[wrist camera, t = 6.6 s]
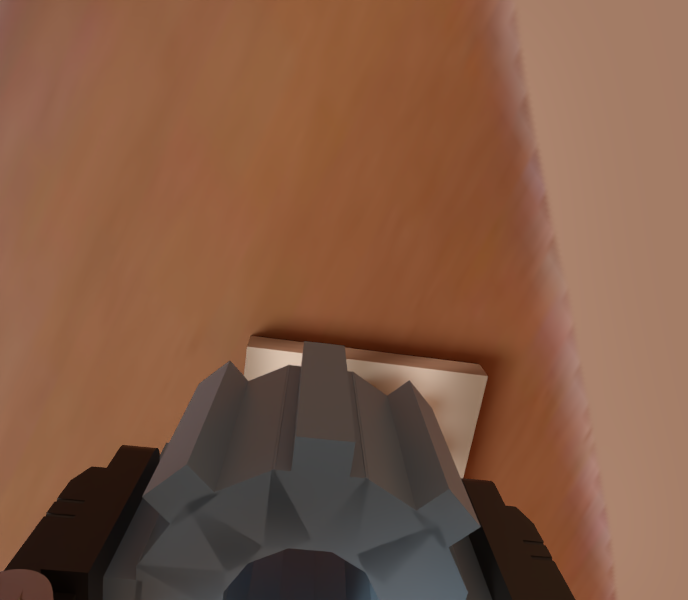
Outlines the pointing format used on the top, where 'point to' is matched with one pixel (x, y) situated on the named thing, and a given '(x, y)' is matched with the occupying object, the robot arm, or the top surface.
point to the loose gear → (301, 496)
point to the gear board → (397, 383)
